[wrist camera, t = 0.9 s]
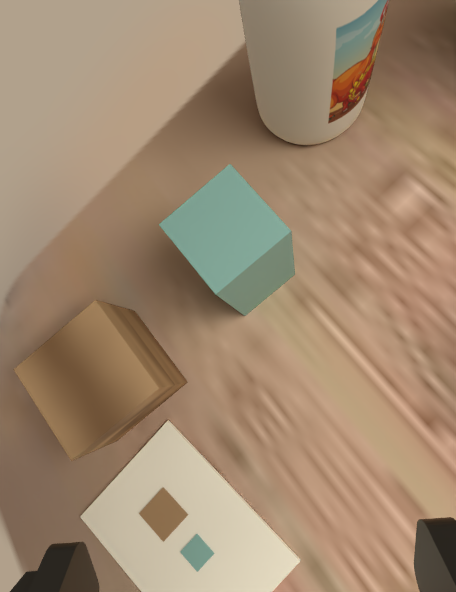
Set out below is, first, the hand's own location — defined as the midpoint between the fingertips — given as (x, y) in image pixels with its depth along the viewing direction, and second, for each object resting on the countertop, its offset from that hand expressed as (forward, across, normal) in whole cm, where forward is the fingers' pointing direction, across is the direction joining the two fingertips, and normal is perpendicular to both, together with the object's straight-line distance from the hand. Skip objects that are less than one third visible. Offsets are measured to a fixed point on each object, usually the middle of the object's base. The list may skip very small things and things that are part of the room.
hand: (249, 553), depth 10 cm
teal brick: (+21, -1, 0) cm, 21 cm away
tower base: (+18, +9, +6) cm, 21 cm away
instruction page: (+12, +5, +15) cm, 20 cm away
